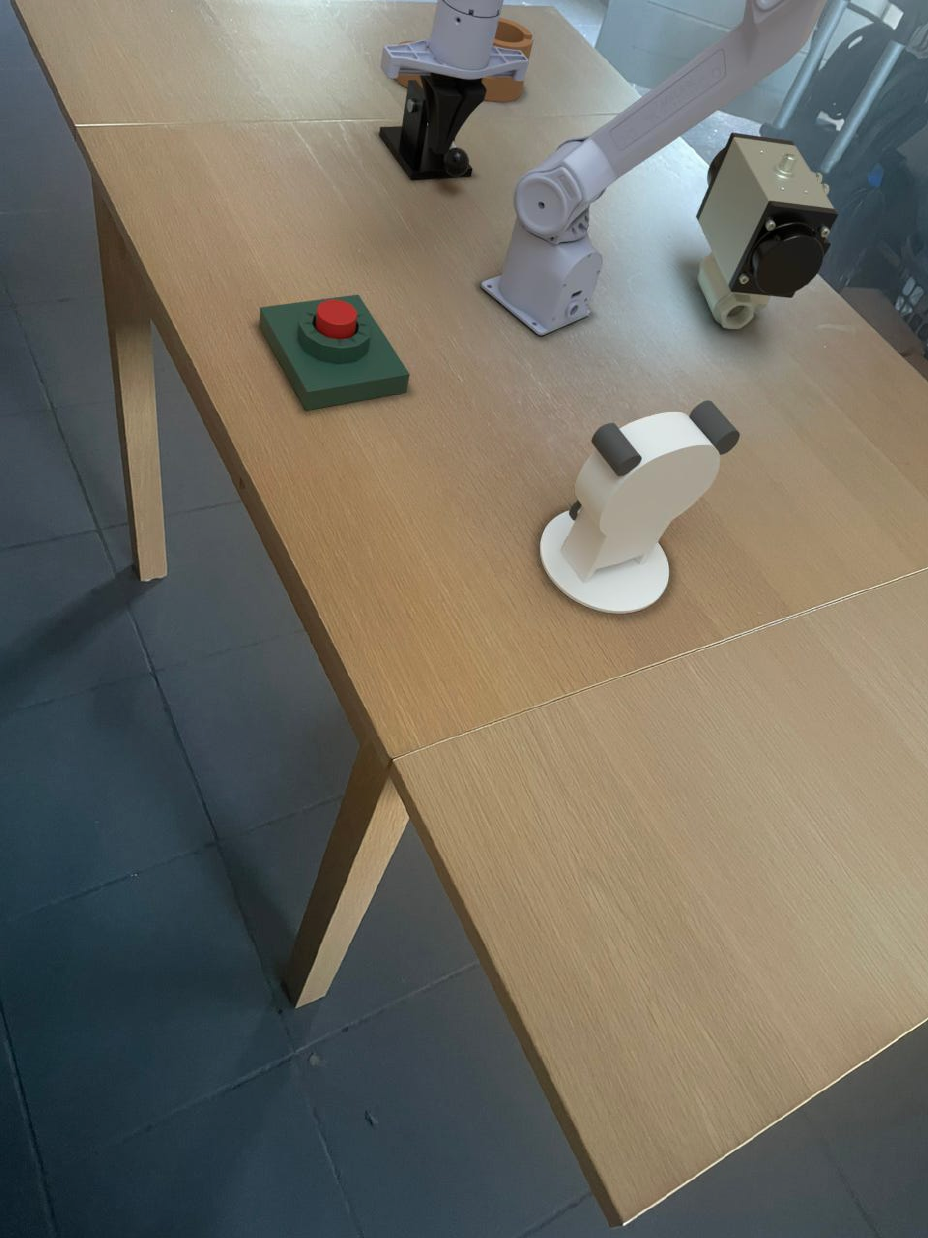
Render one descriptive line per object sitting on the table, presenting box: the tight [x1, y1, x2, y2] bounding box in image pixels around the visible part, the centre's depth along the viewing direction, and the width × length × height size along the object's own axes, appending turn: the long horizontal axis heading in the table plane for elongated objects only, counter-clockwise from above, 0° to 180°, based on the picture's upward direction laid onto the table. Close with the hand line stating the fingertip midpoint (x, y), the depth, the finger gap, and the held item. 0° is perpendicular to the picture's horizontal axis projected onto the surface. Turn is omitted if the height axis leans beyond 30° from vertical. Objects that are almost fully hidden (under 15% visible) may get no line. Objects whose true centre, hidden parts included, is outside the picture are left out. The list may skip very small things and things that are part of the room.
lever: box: [443, 141, 470, 178], centre depth 106 cm, size 11×3×3 cm, turn 26°
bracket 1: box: [394, 17, 534, 103], centre depth 122 cm, size 18×8×7 cm, turn 101°
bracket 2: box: [378, 80, 474, 181], centre depth 109 cm, size 10×8×8 cm
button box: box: [259, 294, 410, 411], centre depth 85 cm, size 12×10×4 cm
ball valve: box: [695, 132, 839, 330], centre depth 98 cm, size 18×8×18 cm, turn 7°
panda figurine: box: [539, 399, 741, 615], centre depth 73 cm, size 12×11×15 cm
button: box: [316, 300, 357, 340], centre depth 83 cm, size 4×4×2 cm
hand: (437, 148), depth 93 cm, fingers closed
